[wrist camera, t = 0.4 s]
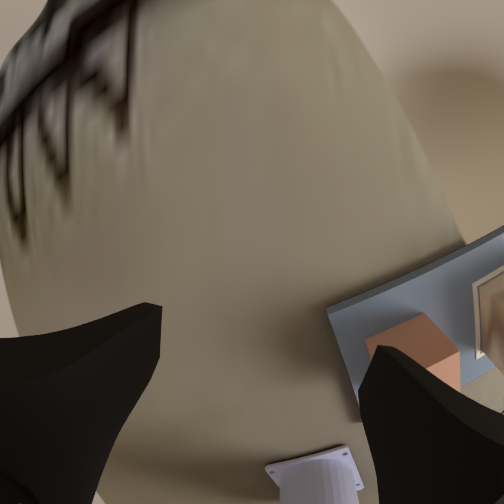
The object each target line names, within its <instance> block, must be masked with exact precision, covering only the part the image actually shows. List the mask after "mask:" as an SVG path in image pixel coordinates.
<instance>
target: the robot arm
mask: <svg viewBox="0 0 504 504" xmlns="http://www.w3.org/2000/svg"><path fill="white" fill-rule="evenodd" d="M161 320H162V306H159V305H154V304H150V303H146V302H144V303H140V304H137V305H135V306H132V307H129V308H127V309H124V310H122V311H119V312H116V313H114V314H111V315H109V316H106V317H103V318H101V319H98V320H95V321H92V322H89V323H86V324H82V325H79V326H76V327H73V328H69V329H65V330H61V331H57V332H52V333H47V334H41V335H33V336H24V337H16V338H0V504H92V501H93V498H94V495H95V492H96V489H97V486H98V483H99V480H100V477H101V475H102V472H103V469H104V467H105V464H106V462H107V459H108V457H109V454H110V452H111V449H112V447H113V445H114V442H115V440H116V438H117V436H118V434H119V432H120V430H121V428H122V426H123V425H124V423H125V421H126V420H127V418H128V416H129V415H130V413H131V411H132V410H133V408H134V406H135V405H136V403H137V401H138V400H139V398H140V397H141V395H142V393H143V391H144V390H145V388H146V386H147V385H148V383H149V381H150V379H151V377H152V375H153V372H154V370H155V368H156V365H157V363H158V360H159V358H160V339H161ZM358 399H359V407H360V414H361V418H362V422H363V426H364V429H365V433H366V437H367V440H368V444H369V447H370V451H371V455H372V458H373V462H374V466H375V471H376V476H377V484H378V494H379V504H504V414H501V413H499V412H496V411H494V410H492V409H489V408H487V407H485V406H483V405H481V404H479V403H477V402H476V401H474V400H472V399H470V398H468V397H466V396H465V395H463V394H461V393H460V392H458V391H457V390H455V389H454V388H452V387H451V386H449V385H448V384H446V383H445V382H443V381H442V380H441V379H439V378H438V377H436V376H435V375H434V374H432V373H431V372H429V371H428V370H427V369H425V368H424V367H423V366H421V365H420V364H419V363H417V362H416V361H415V360H413V359H412V358H411V357H409V356H408V355H406V354H405V353H403V352H402V351H400V350H399V349H397V348H395V347H393V346H384V345H377V348H376V350H375V353H374V355H373V358H372V360H371V362H370V365H369V367H368V369H367V372H366V374H365V376H364V378H363V381H362V383H361V385H360V387H359V389H358ZM265 471H266V472H267V473H268V475H269V476H270V477H271V478H272V480H273V481H274V482H275V483H276V484H277V486H278V487H279V488H280V502H279V504H359V501H358V496H357V491H358V490H361V489H363V488H364V485H363V482H362V480H361V477H360V475H359V472H358V470H357V467H356V465H355V462H354V460H353V457H352V455H351V452H350V450H349V447H348V446H346V445H343V446H340V447H336V448H333V449H330V450H326V451H323V452H319V453H316V454H312V455H308V456H304V457H300V458H296V459H292V460H288V461H283V462H279V463H274V464H269V465H266V466H265Z"/></svg>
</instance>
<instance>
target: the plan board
mask: <svg viewBox="0 0 504 504" xmlns="http://www.w3.org/2000/svg"><path fill="white" fill-rule="evenodd" d="M502 273H504V226H502V227H500V228H498V229H496V230H494V231H493V232H491V233H489V234H487V235H486V236H484V237H481V238H480V239H478V240H476V241H474V242H472V243H470V244H468V245H466V246H464V247H462V248H460V249H458V250H456V251H454V252H452V253H450V254H448V255H446V256H444V257H442V258H440V259H438V260H436V261H434V262H431V263H429V264H427V265H425V266H423V267H421V268H419V269H416V270H414V271H412V272H410V273H408V274H405V275H403V276H401V277H399V278H397V279H394V280H392V281H390V282H387V283H385V284H383V285H381V286H378V287H376V288H374V289H371V290H369V291H366V292H364V293H362V294H359V295H357V296H354V297H352V298H349V299H347V300H345V301H342V302H340V303H337V304H334V305H332V306H329V307H327V308H325V309H326V312H327V315H328V317H329V320H330V323H331V326H332V328H333V331H334V334H335V337H336V340H337V342H338V345H339V348H340V351H341V354H342V357H343V359H344V362H345V365H346V368H347V371H348V374H349V377H350V380H351V383H352V386H353V389H354V392H355V395H356V398H357V401H358V404H359V399H358V389H359V387H360V385H361V383H362V381H363V378H364V376H365V374H366V372H367V369H368V367H369V365H370V362H371V360H370V356H369V352H368V349H367V345H366V342H365V339H366V338H369V337H371V336H374V335H376V334H378V333H381V332H383V331H385V330H388V329H390V328H392V327H395V326H397V325H399V324H401V323H403V322H406V321H408V320H410V319H412V318H414V317H416V316H418V315H421V314H423V313H426V314H427V315H428V317H429V318H430V319H431V320H432V321H433V322H434V323H435V324H436V325H437V326H438V327H439V329H440V330H441V331H442V332H443V333H444V334H445V335H446V336H447V337H448V339H449V340H450V341H451V342H452V343H453V344H454V345H455V346H456V348H457V349H458V350H459V351H460V387H462V386H464V385H466V384H468V383H469V382H471V381H473V380H474V379H476V378H478V377H479V376H481V375H483V374H484V373H486V372H488V371H489V370H491V369H492V368H494V367H495V364H494V363H493V362H492V361H491V360H490V359H489V358H488V357H487V356H486V355H485V354H484V353H483V352H482V351H481V312H480V297H479V287H480V286H482V285H484V284H485V283H487V282H489V281H491V280H492V279H494V278H496V277H497V276H499V275H501V274H502Z"/></svg>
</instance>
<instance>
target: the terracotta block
mask: <svg viewBox="0 0 504 504" xmlns="http://www.w3.org/2000/svg"><path fill="white" fill-rule="evenodd" d="M365 342H366V345H367V349H368V352H369V356H370V360H372V358H373V355H374V353H375V350H376V348H377V345H384V346H393V347H395V348H397V349H399V350H400V351H402V352H403V353H405V354H406V355H408V356H409V357H411V358H412V359H413V360H415V361H416V362H417V363H419V364H420V365H421V366H423V367H424V368H425V369H427V370H428V371H429V372H431V373H432V374H434V375H435V376H436V377H438V378H439V379H441V380H442V381H443V382H445V383H446V384H448V385H449V386H451V387H452V388H454V389H455V390H457V391H458V392H460V351H459V350H458V349H457V348H456V346H455V345H454V344H453V343H452V342H451V341H450V340H449V339H448V337H447V336H446V335H445V334H444V333H443V332H442V331H441V330H440V329H439V327H438V326H437V325H436V324H435V323H434V322H433V321H432V320H431V319H430V318H429V317H428V315H427V314H426V313H423V314H421V315H418V316H416V317H414V318H412V319H410V320H408V321H406V322H403V323H401V324H399V325H397V326H395V327H392V328H390V329H388V330H385V331H383V332H381V333H378V334H376V335H374V336H371V337H369V338H366V339H365Z"/></svg>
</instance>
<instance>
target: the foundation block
mask: <svg viewBox="0 0 504 504" xmlns="http://www.w3.org/2000/svg"><path fill="white" fill-rule="evenodd" d="M479 297H480V312H481V351H482V352H483V353H484V354H485V355H486V356H487V357H488V358H489V359H490V360H491V361H492V362H493V363H494V364H495V366H496V367H497V368H498V369H499V370H500V371H501V372H502V373H503V374H504V273H502V274H501V275H499V276H497V277H496V278H494V279H492V280H491V281H489V282H487V283H485V284H484V285H482V286H480V287H479Z"/></svg>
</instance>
